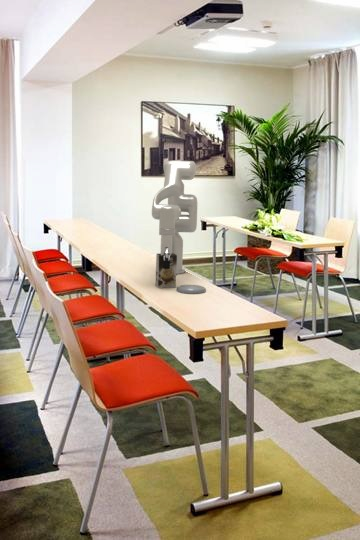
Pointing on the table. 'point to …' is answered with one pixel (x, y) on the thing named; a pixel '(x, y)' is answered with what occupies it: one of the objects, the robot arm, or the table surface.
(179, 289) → the dish
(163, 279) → the coffee box
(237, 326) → the table surface
